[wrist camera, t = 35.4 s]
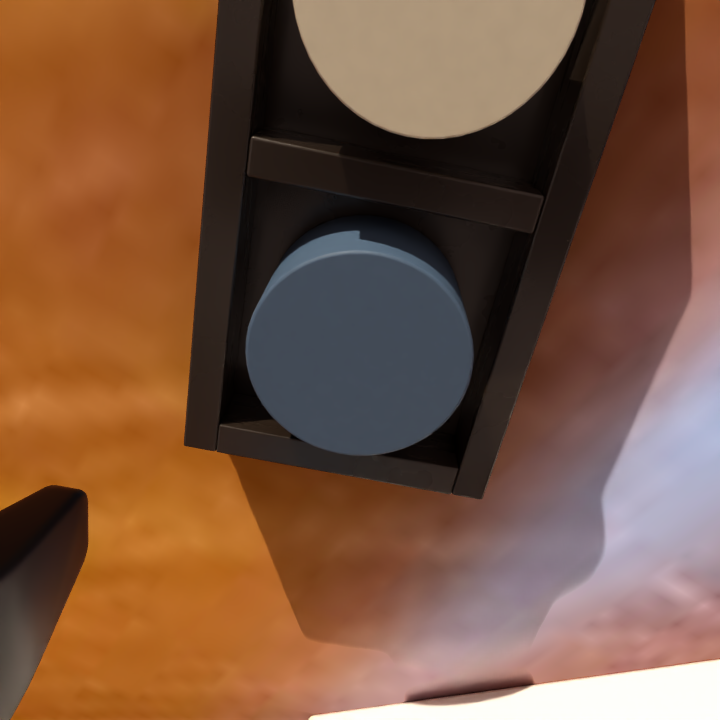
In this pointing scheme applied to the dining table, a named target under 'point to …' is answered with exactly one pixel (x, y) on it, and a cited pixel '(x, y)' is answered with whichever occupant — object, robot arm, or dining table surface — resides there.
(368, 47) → the cylinder
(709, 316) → the dining table surface
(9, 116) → the dining table surface
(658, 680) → the gable box
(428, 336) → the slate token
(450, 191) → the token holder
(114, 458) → the dining table surface
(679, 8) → the dining table surface
